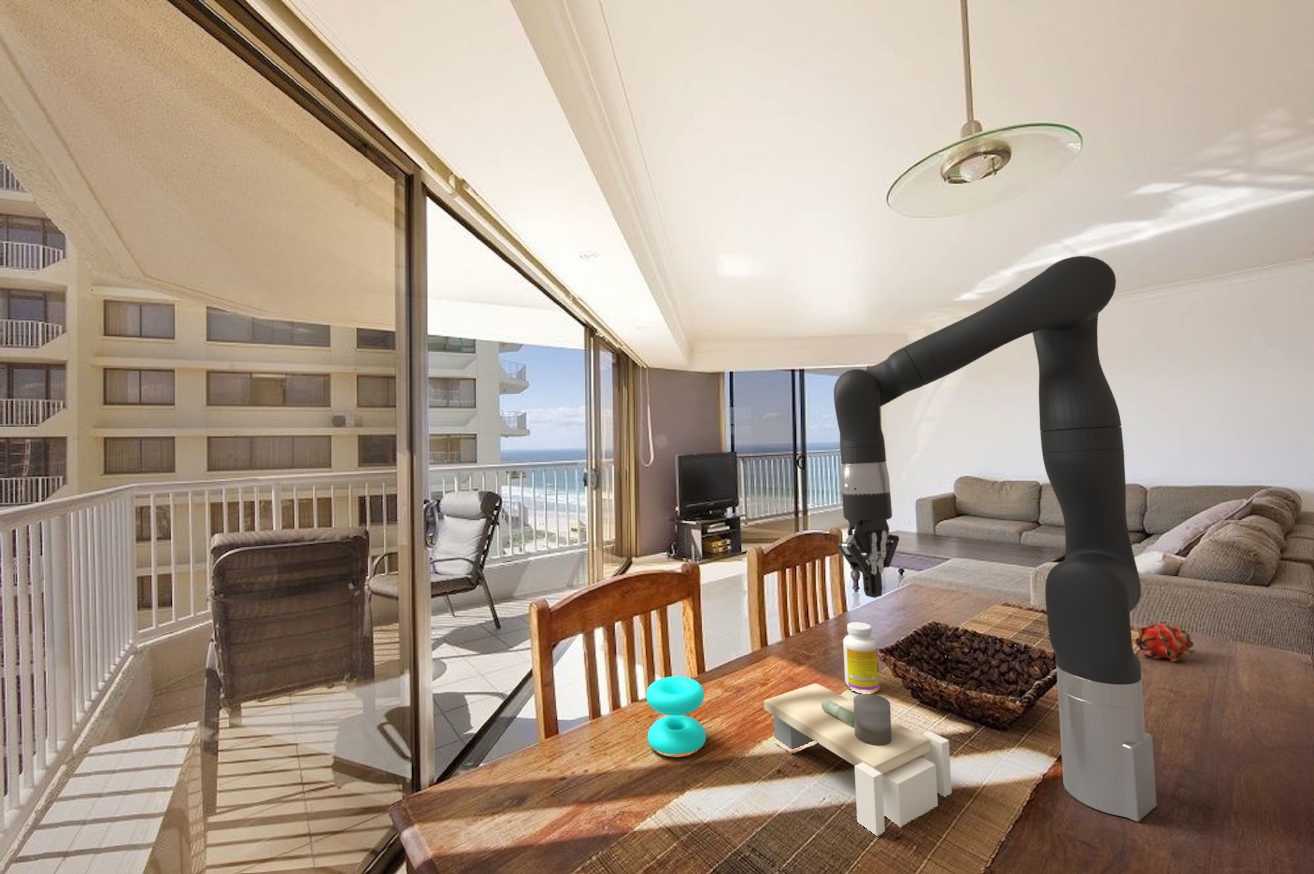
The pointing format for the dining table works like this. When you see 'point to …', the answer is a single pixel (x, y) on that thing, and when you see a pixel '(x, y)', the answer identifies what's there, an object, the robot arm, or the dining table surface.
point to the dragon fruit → (1164, 641)
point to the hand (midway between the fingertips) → (873, 595)
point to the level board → (849, 726)
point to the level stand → (891, 782)
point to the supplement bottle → (860, 657)
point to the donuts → (676, 715)
